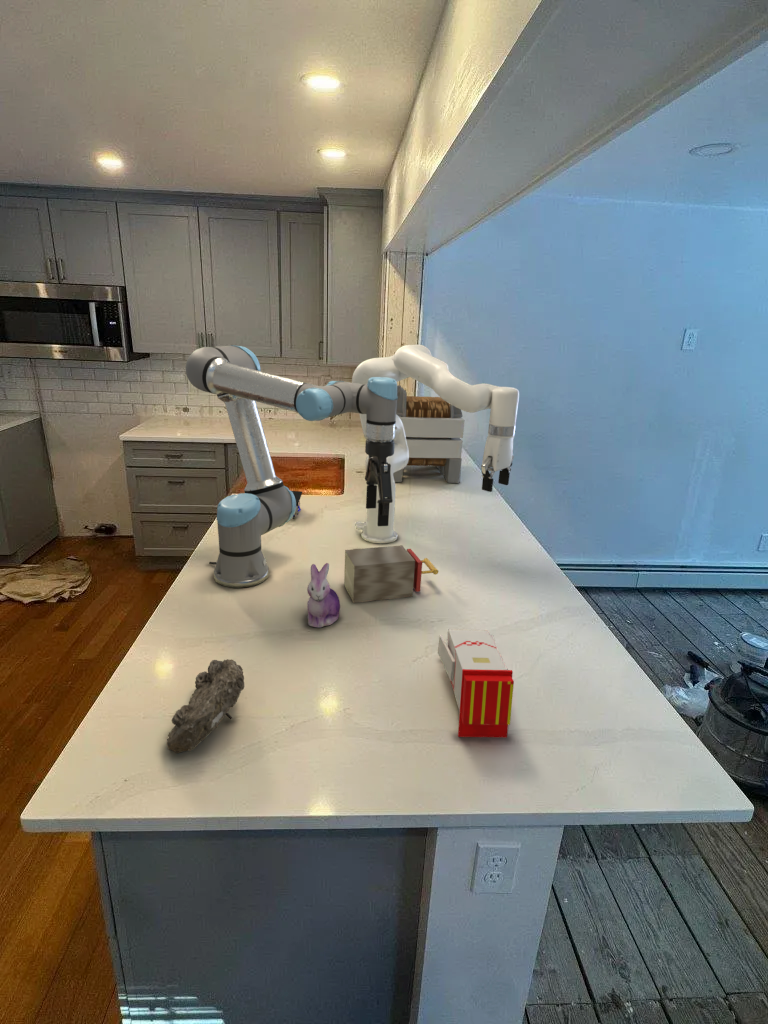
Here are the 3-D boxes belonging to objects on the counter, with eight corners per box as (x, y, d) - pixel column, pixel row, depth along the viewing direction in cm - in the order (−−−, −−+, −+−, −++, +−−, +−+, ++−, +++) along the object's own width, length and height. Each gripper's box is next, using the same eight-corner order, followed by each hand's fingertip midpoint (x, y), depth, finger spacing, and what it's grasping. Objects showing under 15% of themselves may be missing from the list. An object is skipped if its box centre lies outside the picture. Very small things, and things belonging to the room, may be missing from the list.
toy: (488, 613, 130) (523, 677, 101) (484, 667, 133) (517, 744, 104) (435, 612, 130) (455, 676, 101) (432, 666, 133) (451, 743, 103)
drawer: (426, 574, 168) (428, 547, 165) (438, 589, 159) (440, 560, 156) (357, 581, 162) (358, 553, 159) (366, 597, 153) (367, 567, 150)
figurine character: (298, 524, 207) (303, 507, 221) (298, 506, 204) (302, 489, 217) (280, 524, 207) (285, 506, 220) (279, 505, 204) (285, 488, 217)
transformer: (382, 463, 289) (386, 382, 275) (445, 464, 293) (451, 384, 279) (390, 482, 257) (394, 392, 243) (460, 483, 261) (468, 394, 247)
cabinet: (400, 579, 166) (402, 545, 163) (412, 596, 157) (415, 560, 153) (344, 585, 162) (344, 549, 158) (353, 603, 152) (354, 566, 148)
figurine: (312, 633, 137) (312, 577, 132) (298, 613, 145) (298, 559, 140) (348, 624, 141) (349, 570, 136) (332, 606, 150) (333, 554, 144)
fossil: (192, 660, 117) (244, 628, 112) (224, 691, 120) (276, 661, 115) (142, 746, 98) (202, 712, 93) (182, 779, 101) (242, 748, 96)
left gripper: (408, 450, 135) (402, 533, 143) (382, 429, 158) (379, 500, 165) (377, 451, 134) (373, 534, 141) (356, 429, 156) (353, 501, 163)
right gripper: (504, 425, 172) (498, 479, 178) (474, 432, 160) (468, 490, 165) (527, 429, 168) (520, 484, 173) (498, 437, 155) (491, 496, 161)
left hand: (376, 516), depth 153 cm, fingers open, 13 cm apart
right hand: (495, 487), depth 169 cm, fingers open, 9 cm apart
